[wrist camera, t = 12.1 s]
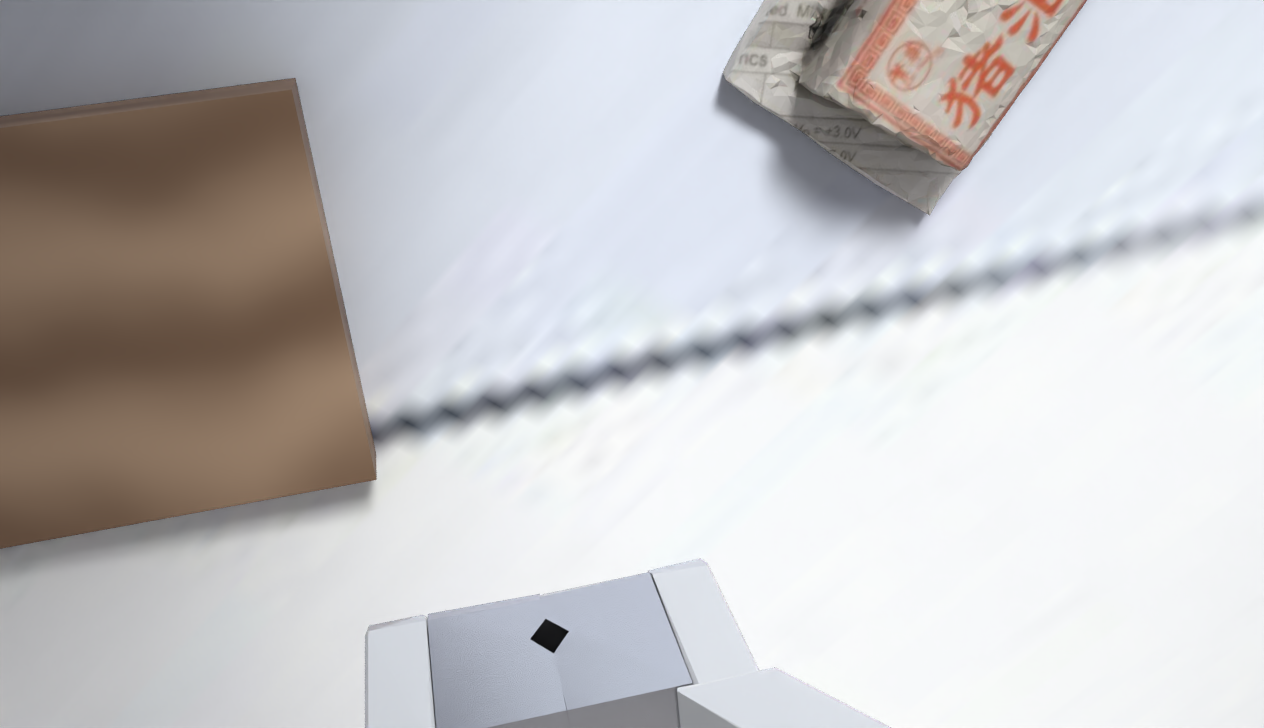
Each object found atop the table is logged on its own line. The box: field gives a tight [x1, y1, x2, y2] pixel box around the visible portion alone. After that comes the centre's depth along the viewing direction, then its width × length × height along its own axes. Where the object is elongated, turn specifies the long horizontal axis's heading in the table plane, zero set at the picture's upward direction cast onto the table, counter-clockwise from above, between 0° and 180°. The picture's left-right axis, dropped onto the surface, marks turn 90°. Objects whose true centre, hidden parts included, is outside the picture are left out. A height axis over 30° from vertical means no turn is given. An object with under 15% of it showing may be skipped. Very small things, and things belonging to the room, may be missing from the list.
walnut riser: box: [0, 78, 376, 549], centre depth 38 cm, size 14×16×2 cm
